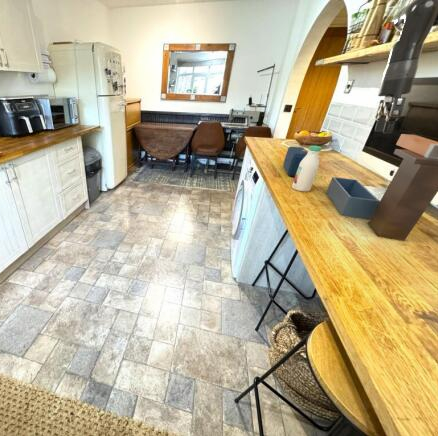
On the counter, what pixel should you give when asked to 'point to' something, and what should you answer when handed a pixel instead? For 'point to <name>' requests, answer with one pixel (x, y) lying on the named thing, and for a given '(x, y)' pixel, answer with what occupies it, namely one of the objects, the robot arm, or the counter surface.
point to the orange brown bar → (419, 145)
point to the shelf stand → (406, 196)
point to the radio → (294, 159)
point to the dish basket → (352, 198)
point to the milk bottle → (307, 170)
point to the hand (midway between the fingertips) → (382, 132)
